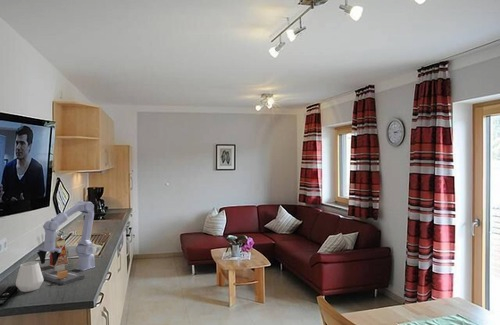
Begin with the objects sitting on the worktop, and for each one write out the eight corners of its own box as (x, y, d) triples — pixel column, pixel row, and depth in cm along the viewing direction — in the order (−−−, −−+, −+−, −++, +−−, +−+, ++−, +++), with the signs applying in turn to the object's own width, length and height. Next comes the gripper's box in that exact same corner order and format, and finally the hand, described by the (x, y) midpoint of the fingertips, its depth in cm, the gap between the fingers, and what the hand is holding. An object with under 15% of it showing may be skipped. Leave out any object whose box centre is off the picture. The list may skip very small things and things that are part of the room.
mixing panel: (58, 271, 232) (58, 268, 232) (84, 278, 219) (84, 274, 219) (38, 277, 220) (38, 273, 220) (63, 284, 207) (63, 281, 207)
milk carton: (69, 264, 246) (68, 235, 246) (55, 268, 239) (55, 237, 238) (61, 262, 252) (61, 233, 251) (48, 265, 244) (47, 236, 243)
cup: (13, 288, 202) (12, 263, 202) (39, 282, 211) (39, 258, 211) (18, 295, 192) (18, 269, 192) (46, 288, 202) (46, 263, 201)
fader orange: (64, 275, 216) (64, 269, 216) (67, 276, 214) (67, 270, 214) (57, 277, 212) (57, 271, 212) (60, 278, 210) (60, 272, 210)
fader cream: (61, 268, 229) (61, 262, 229) (64, 269, 227) (64, 263, 227) (54, 270, 225) (54, 264, 225) (57, 271, 223) (57, 265, 223)
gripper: (34, 241, 213) (32, 264, 212) (56, 242, 211) (54, 266, 210) (42, 239, 220) (41, 262, 219) (64, 240, 218) (63, 263, 217)
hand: (48, 264), depth 215 cm, fingers open, 7 cm apart
